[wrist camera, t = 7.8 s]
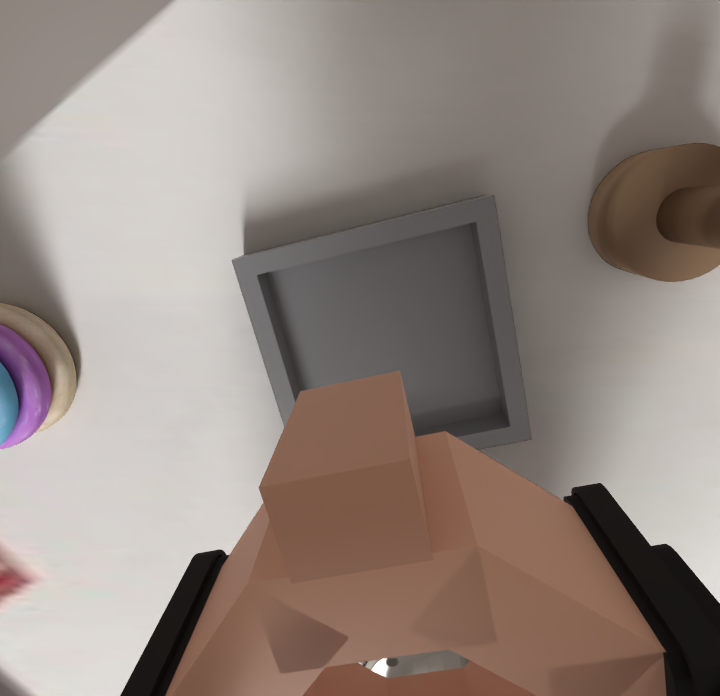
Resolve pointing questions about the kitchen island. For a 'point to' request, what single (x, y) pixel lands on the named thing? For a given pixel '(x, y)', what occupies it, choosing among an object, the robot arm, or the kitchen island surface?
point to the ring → (410, 572)
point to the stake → (660, 213)
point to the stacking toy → (31, 375)
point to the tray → (397, 318)
